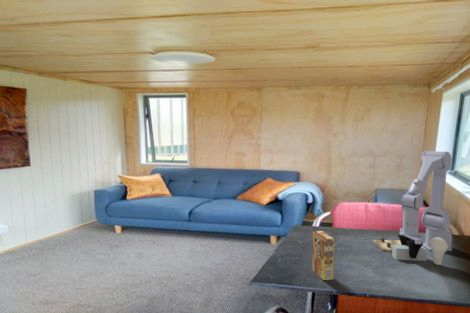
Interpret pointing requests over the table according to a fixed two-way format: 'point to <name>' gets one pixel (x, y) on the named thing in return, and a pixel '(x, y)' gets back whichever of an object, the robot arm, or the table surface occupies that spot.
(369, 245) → the table surface
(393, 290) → the table surface
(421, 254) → the light grey block
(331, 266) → the candy box
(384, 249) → the jig
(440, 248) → the lightbulb
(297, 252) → the table surface
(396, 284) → the table surface
